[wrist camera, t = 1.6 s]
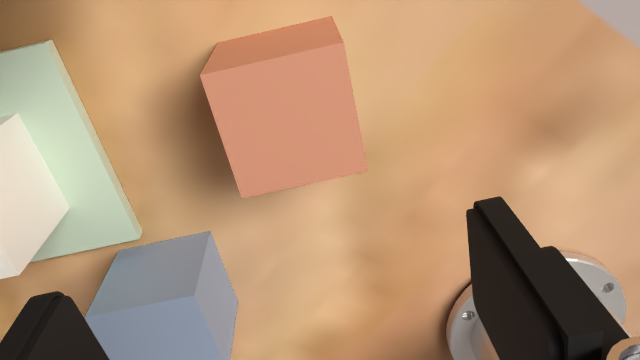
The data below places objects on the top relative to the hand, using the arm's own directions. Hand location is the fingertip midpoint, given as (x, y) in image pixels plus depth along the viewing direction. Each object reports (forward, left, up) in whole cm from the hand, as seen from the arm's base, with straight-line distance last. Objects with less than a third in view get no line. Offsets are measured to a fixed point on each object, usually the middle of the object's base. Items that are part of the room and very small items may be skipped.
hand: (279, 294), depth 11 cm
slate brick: (-11, +10, -17) cm, 23 cm away
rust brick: (0, 0, -17) cm, 17 cm away
